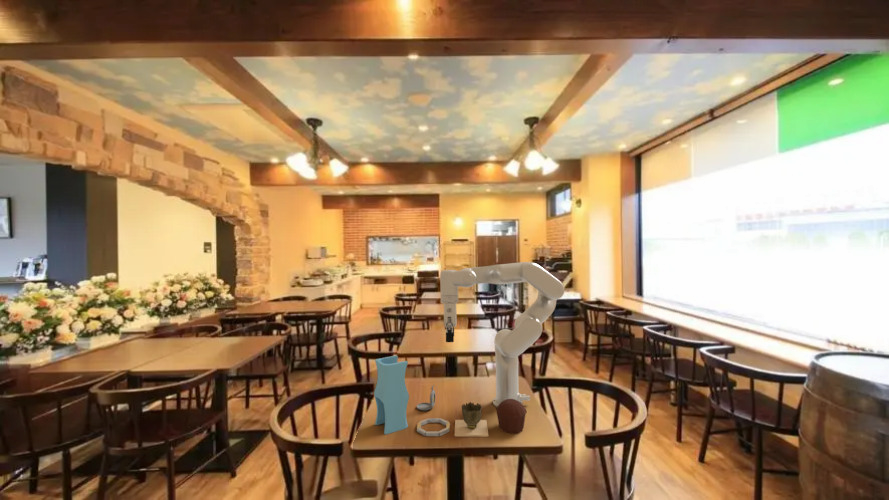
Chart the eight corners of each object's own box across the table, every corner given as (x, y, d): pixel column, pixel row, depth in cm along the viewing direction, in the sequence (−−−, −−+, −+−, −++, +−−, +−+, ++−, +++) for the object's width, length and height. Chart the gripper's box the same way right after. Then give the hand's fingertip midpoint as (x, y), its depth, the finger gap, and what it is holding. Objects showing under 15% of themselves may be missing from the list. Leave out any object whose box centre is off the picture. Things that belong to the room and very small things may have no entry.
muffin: (529, 435, 139) (529, 407, 139) (498, 435, 140) (497, 407, 139) (523, 420, 151) (523, 394, 151) (494, 420, 151) (494, 395, 151)
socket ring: (450, 421, 152) (450, 418, 151) (449, 436, 140) (449, 433, 140) (419, 421, 152) (419, 418, 152) (415, 436, 140) (415, 432, 140)
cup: (485, 425, 146) (485, 404, 146) (476, 434, 140) (476, 411, 140) (467, 421, 150) (467, 400, 150) (458, 429, 144) (457, 407, 143)
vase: (409, 427, 147) (408, 361, 147) (385, 434, 142) (383, 366, 141) (398, 417, 155) (396, 355, 155) (374, 424, 150) (373, 359, 150)
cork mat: (486, 421, 151) (486, 419, 151) (488, 436, 139) (488, 435, 139) (455, 421, 151) (455, 419, 151) (454, 436, 139) (454, 434, 139)
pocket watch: (414, 406, 166) (414, 383, 166) (433, 403, 169) (432, 380, 169) (421, 414, 159) (420, 389, 158) (440, 410, 162) (439, 386, 162)
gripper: (458, 301, 157) (458, 344, 157) (458, 296, 174) (459, 334, 175) (439, 302, 157) (440, 344, 158) (441, 296, 175) (442, 334, 175)
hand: (450, 339), depth 166 cm, fingers open, 9 cm apart
